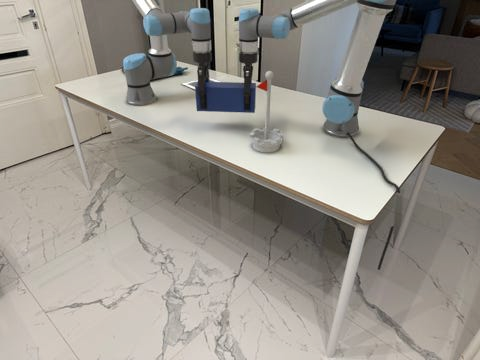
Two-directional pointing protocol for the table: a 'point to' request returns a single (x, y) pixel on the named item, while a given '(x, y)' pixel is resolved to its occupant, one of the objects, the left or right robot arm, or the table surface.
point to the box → (226, 97)
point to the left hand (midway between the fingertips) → (205, 105)
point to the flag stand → (266, 124)
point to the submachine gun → (179, 70)
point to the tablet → (194, 83)
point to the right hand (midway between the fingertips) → (247, 106)
